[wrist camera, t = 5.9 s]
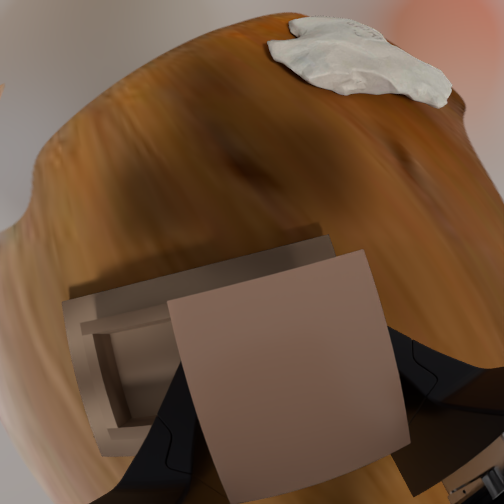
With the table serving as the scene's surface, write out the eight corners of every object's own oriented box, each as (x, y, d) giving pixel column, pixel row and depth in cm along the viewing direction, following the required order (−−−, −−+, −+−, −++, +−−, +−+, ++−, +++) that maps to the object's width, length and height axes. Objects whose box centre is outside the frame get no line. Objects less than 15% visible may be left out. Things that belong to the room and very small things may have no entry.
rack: (368, 395, 18) (391, 405, 14) (108, 451, 16) (87, 468, 12) (324, 239, 21) (339, 221, 17) (69, 303, 19) (42, 297, 15)
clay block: (308, 378, 15) (410, 442, 5) (239, 397, 15) (230, 505, 4) (287, 303, 16) (363, 249, 6) (218, 321, 16) (166, 301, 5)
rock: (389, 170, 23) (450, 106, 25) (406, 141, 19) (465, 81, 20) (236, 61, 29) (318, 22, 30) (230, 31, 24) (319, -4, 26)
